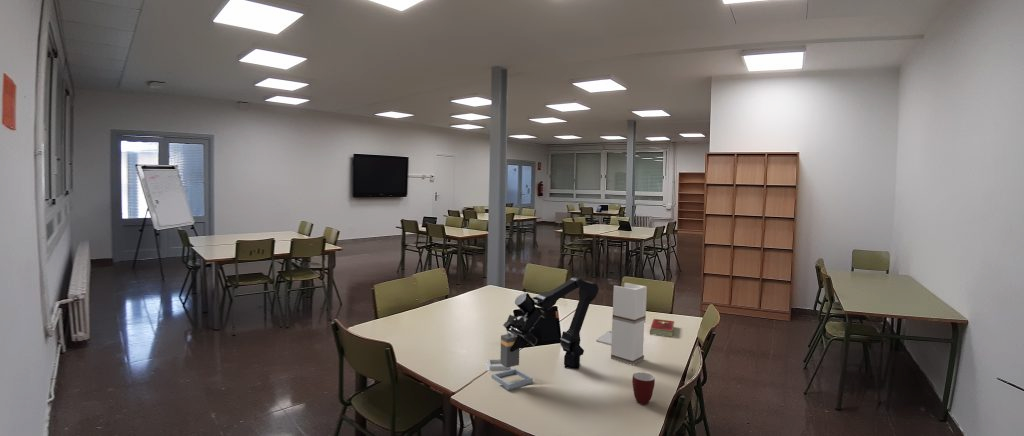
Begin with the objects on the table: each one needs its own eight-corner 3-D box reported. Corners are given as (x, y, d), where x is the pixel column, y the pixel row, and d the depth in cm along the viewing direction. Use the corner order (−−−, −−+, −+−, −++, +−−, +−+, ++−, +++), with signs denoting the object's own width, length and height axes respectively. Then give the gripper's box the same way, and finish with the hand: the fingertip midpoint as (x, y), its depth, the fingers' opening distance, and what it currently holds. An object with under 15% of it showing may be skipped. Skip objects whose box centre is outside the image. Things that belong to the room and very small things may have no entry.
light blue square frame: (515, 374, 203) (515, 368, 203) (532, 384, 193) (532, 378, 193) (491, 380, 196) (491, 374, 196) (508, 390, 186) (508, 384, 186)
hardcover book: (649, 335, 263) (650, 327, 263) (652, 325, 283) (653, 318, 283) (672, 338, 259) (672, 330, 259) (673, 327, 279) (674, 320, 278)
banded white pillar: (643, 359, 224) (647, 286, 222) (632, 365, 216) (635, 289, 214) (622, 353, 232) (625, 282, 230) (610, 358, 224) (613, 285, 222)
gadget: (621, 349, 239) (621, 342, 239) (595, 342, 249) (596, 335, 249) (642, 339, 256) (643, 333, 255) (618, 333, 266) (618, 326, 266)
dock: (511, 363, 215) (511, 358, 215) (514, 372, 205) (514, 366, 205) (484, 364, 213) (485, 358, 213) (486, 372, 203) (486, 367, 203)
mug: (635, 393, 187) (636, 368, 186) (656, 398, 183) (657, 372, 182) (629, 404, 177) (630, 378, 177) (651, 409, 174) (652, 382, 173)
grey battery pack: (512, 361, 200) (513, 329, 199) (519, 365, 195) (519, 333, 194) (500, 363, 196) (500, 331, 195) (506, 367, 192) (507, 335, 191)
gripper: (507, 302, 204) (484, 331, 199) (531, 313, 188) (507, 344, 183) (522, 318, 209) (500, 346, 204) (547, 329, 193) (523, 361, 188)
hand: (507, 349), depth 195 cm, fingers closed on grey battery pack, 5 cm apart
